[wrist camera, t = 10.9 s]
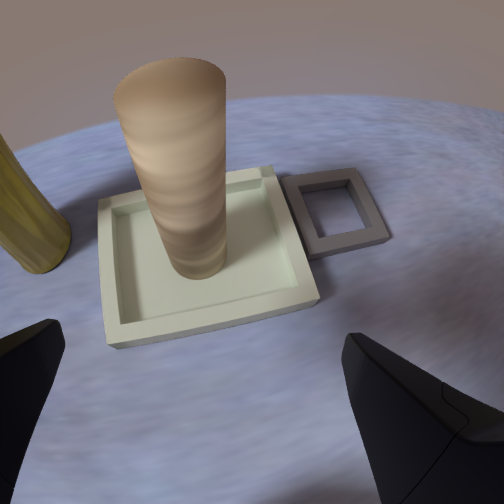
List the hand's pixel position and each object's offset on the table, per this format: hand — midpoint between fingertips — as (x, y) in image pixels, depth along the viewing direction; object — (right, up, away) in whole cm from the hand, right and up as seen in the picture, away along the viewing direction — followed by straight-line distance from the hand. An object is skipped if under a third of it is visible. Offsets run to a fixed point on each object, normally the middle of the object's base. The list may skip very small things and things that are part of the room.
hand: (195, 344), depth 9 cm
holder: (+9, +6, +19) cm, 21 cm away
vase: (-17, +3, +16) cm, 24 cm away
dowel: (-2, +3, +15) cm, 16 cm away
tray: (-3, +2, +16) cm, 16 cm away
